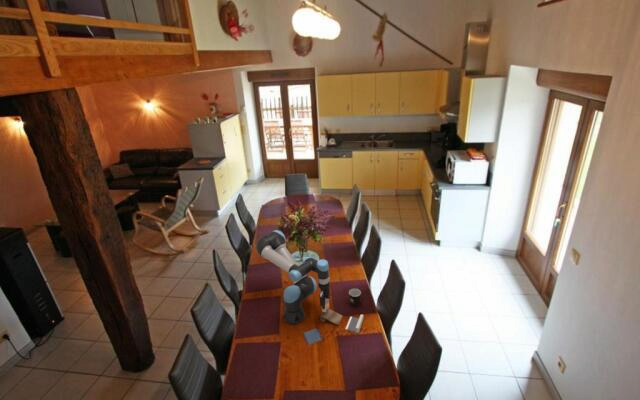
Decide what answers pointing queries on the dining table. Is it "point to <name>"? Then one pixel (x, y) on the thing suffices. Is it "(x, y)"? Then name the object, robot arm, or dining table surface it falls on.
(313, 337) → the woven mat
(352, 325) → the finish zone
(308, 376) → the dining table surface
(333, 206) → the dining table surface
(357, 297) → the coffee mug
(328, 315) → the ramp
